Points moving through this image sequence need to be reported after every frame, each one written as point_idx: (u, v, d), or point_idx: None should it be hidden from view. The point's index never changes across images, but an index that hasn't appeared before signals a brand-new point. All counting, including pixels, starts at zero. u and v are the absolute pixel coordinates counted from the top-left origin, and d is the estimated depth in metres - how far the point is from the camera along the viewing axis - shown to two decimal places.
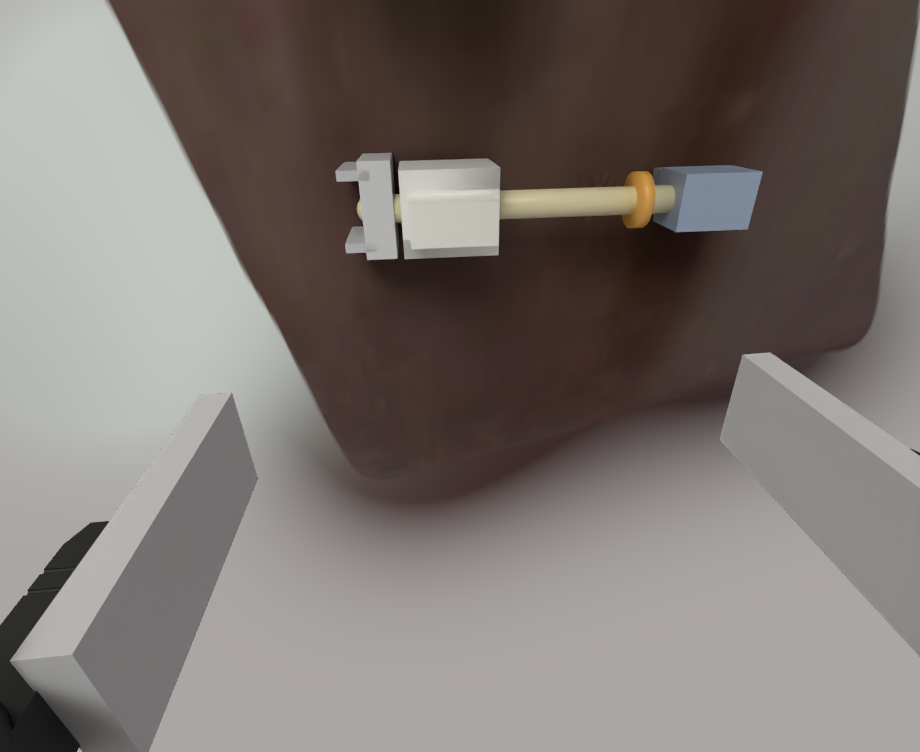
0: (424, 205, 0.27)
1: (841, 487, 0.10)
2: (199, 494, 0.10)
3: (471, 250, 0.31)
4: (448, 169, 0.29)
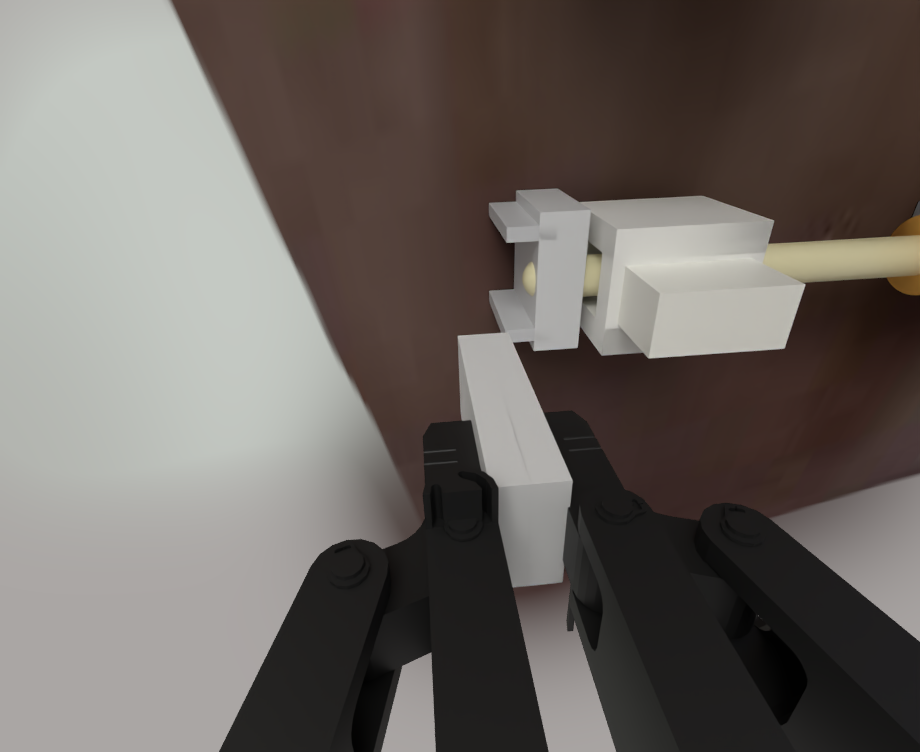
0: (685, 293, 0.16)
1: None
2: None
3: None
4: (693, 225, 0.18)
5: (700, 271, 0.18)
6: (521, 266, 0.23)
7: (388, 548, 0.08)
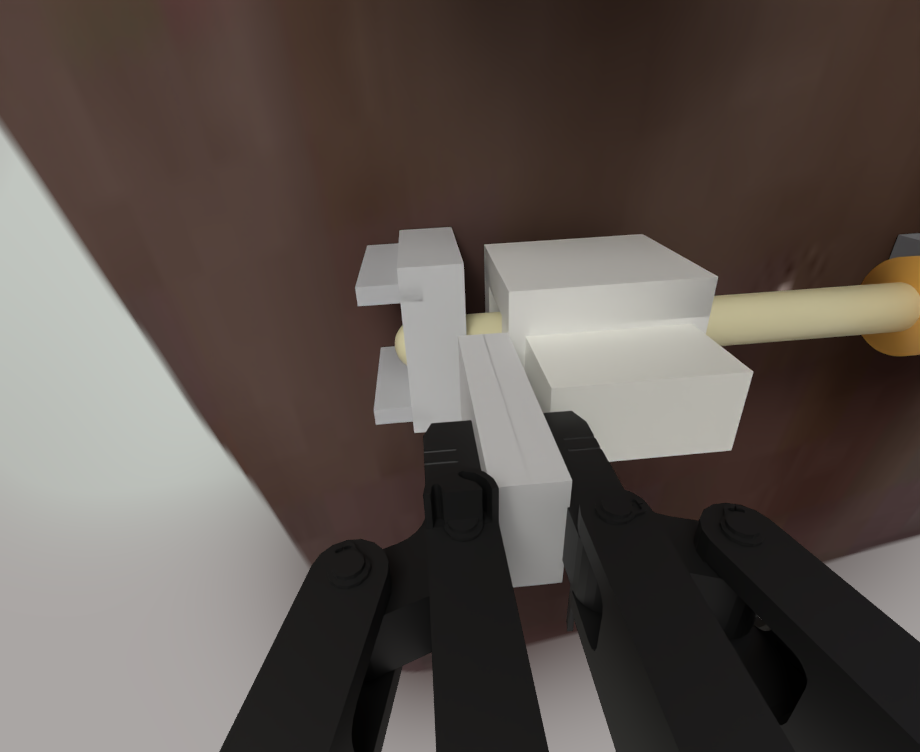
0: (587, 387, 0.12)
1: None
2: None
3: None
4: (611, 284, 0.14)
5: (619, 346, 0.14)
6: None
7: (388, 548, 0.08)
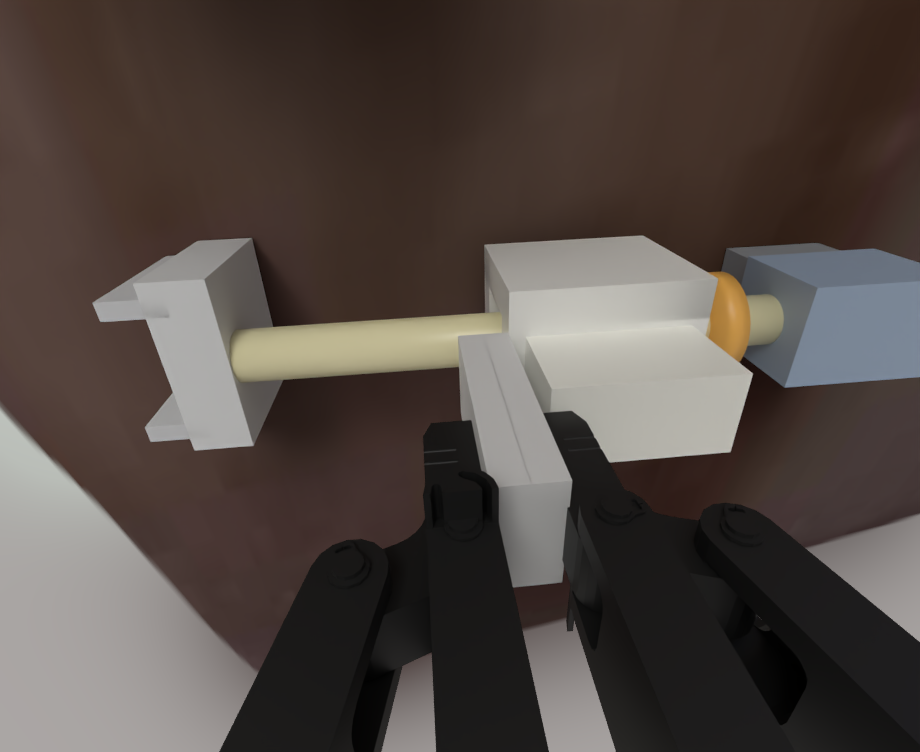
0: (587, 388, 0.12)
1: None
2: None
3: None
4: (611, 285, 0.14)
5: (619, 347, 0.14)
6: None
7: (388, 548, 0.08)
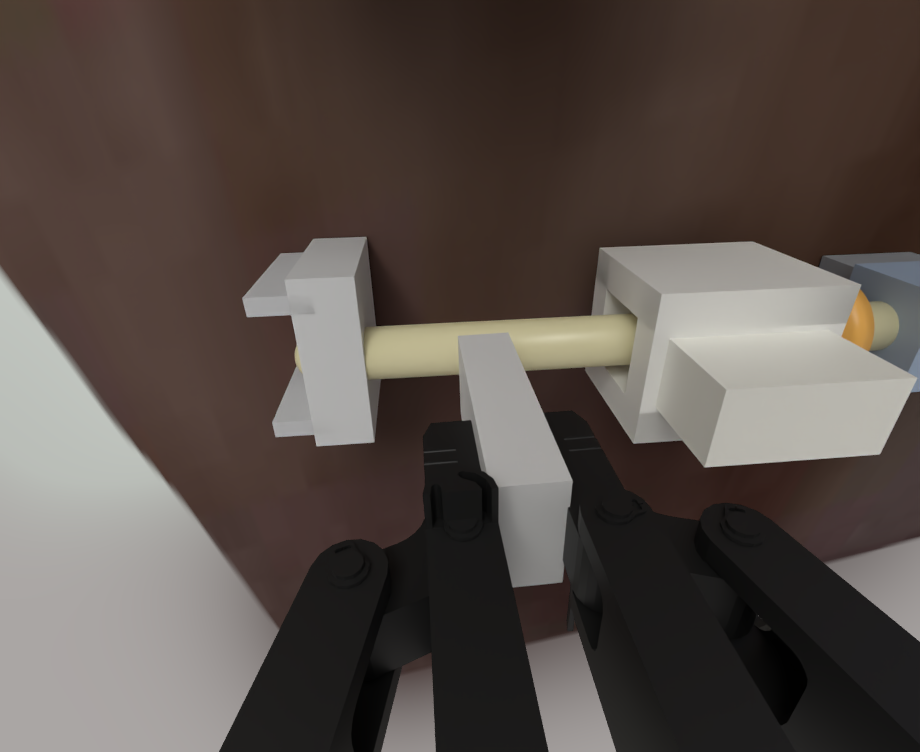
0: (759, 389, 0.12)
1: None
2: None
3: None
4: (758, 289, 0.14)
5: (769, 350, 0.14)
6: None
7: (388, 548, 0.08)
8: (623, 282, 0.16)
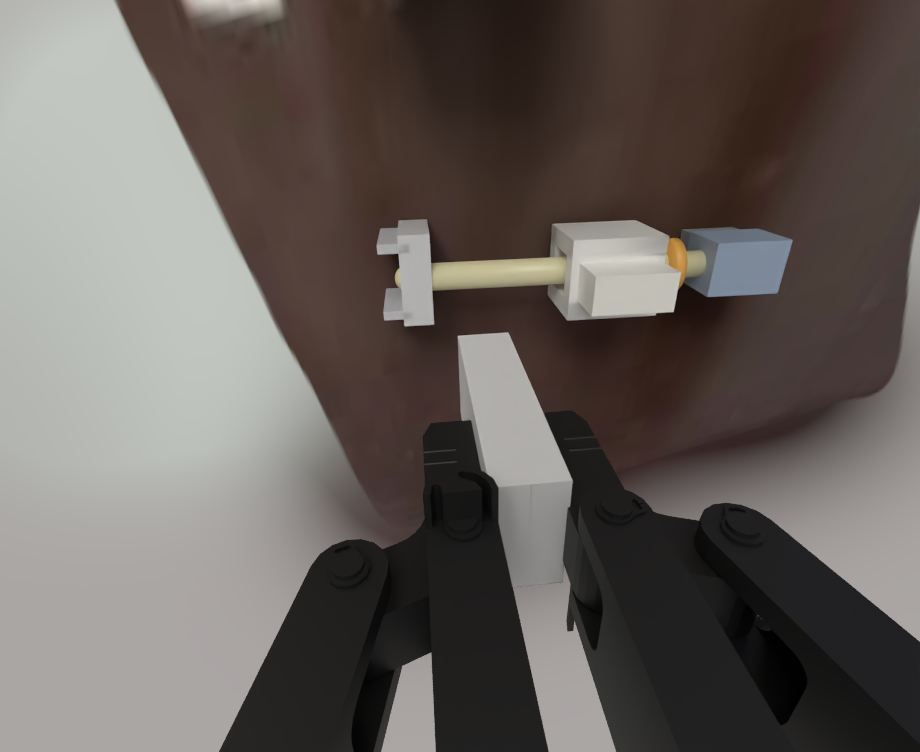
0: (610, 276, 0.28)
1: None
2: None
3: None
4: (620, 238, 0.30)
5: (623, 265, 0.30)
6: None
7: (387, 548, 0.08)
8: (561, 239, 0.33)
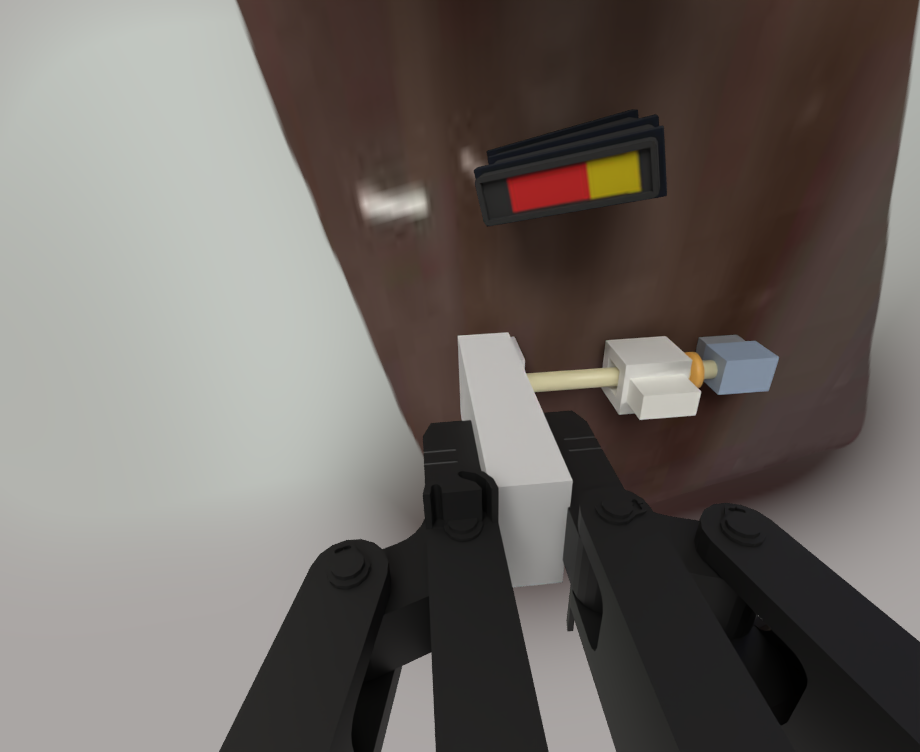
0: (653, 395, 0.41)
1: None
2: None
3: None
4: (658, 362, 0.44)
5: (661, 382, 0.43)
6: None
7: (387, 548, 0.08)
8: (614, 356, 0.46)
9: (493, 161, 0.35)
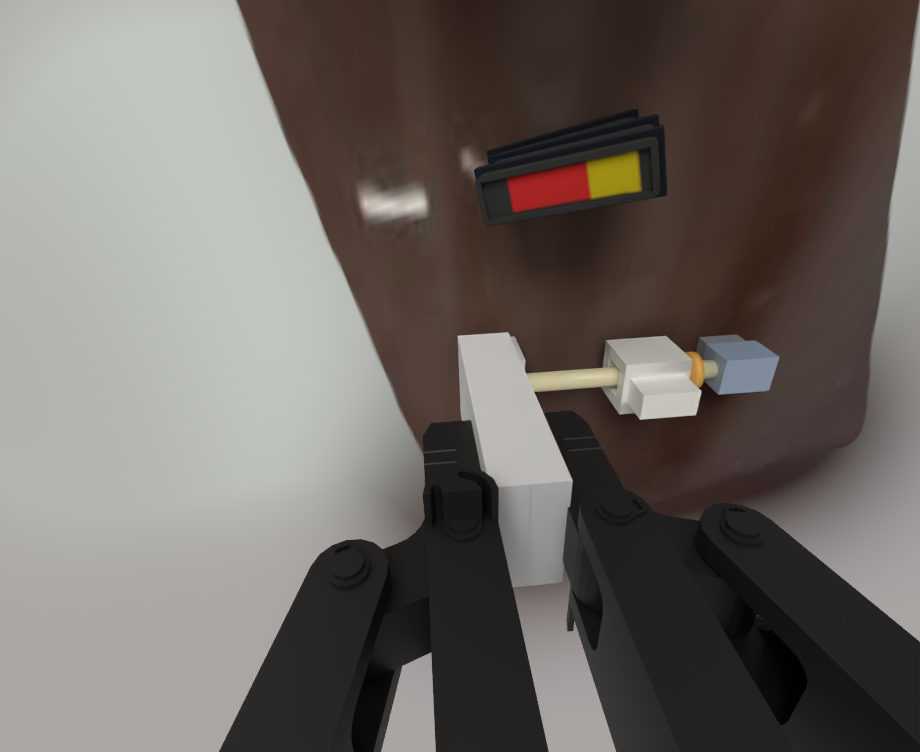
0: (654, 395, 0.41)
1: None
2: None
3: None
4: (658, 362, 0.44)
5: (661, 382, 0.43)
6: None
7: (387, 548, 0.08)
8: (614, 356, 0.46)
9: (493, 161, 0.35)
